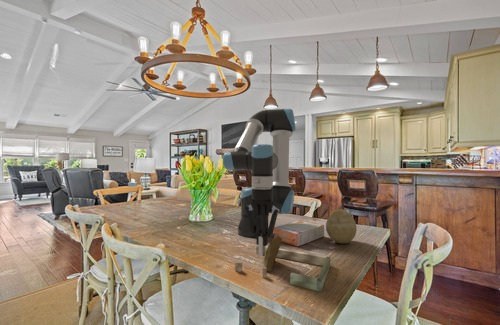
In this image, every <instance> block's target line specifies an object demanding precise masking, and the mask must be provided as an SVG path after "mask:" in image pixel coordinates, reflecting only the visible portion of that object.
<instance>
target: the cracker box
mask: <svg viewBox="0 0 500 325" xmlns="http://www.w3.org/2000/svg"><path fill="white" fill-rule="evenodd" d="M278 236H279V237H281V238H282V242H281V243H286V244H289V245H292V246H294V247H300V246H303V245H306V244H308V243H310V242H313V241H316V240H319V239H321V238H324V237H325V224H322V223H321V224H320V223H317V222H311V221H307V220H304V219H303V220H302V219H300V220H296V221H292V222H290V223H284V224H282V225H281V224H280V225H278V226H275V227H274V231H273V239H274V238H275V237H278Z"/></svg>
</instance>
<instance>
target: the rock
mask: <svg viewBox="0 0 500 325" xmlns="http://www.w3.org/2000/svg"><path fill="white" fill-rule="evenodd" d="M282 243H283V242H282V238H281V237H279V236H278V237H275V238H274V237H273V239H272V241H271V242H270V243H269V245H267V246H268V247H267V249H266V251H265V255H263V259H262V263H263V267H267V272H272V270H273V267H274V265H275V261H276V259H277V257H276V256H277V254H278V251H279V249H281V245H282Z"/></svg>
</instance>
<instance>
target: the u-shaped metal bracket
mask: <svg viewBox="0 0 500 325" xmlns="http://www.w3.org/2000/svg"><path fill="white" fill-rule="evenodd" d="M268 246H269V245H266V246H265V251H266V249H267V247H268ZM255 247H256V249H255V250H256V251H255V252H256V254H258V255H259V245H257V244H256V246H255ZM263 256H265V254H264V255H263ZM276 258H279V259H286V260H290V261H295V262H301V263H306V264H311V265H317V266H321V269H320V272H319V275H318V277H315V276H314V277H313V276H308V275H303V274H299V273H295V272H290V275H289V277H290V278H289V280H290V281H289V282H290V285H291V286H292V285H293V286H297V287H300V288H303V289H304V288H305V289H308V290H313V291H317V292H322V291H323V288H324V285H325V282H326V279H327V276H328V273H329V270H330V268H331V256H330V257H329V256H327V255H326V256H325V255H321V254H313V253H309V252H307V253H306V252H301V251H297V250H290V249H284V248H279V251H278V254H277V256H276ZM234 262H235V263H234V270H235V271H234V272H237V273H242V272H243V262H242V261H240V260H236V261H234ZM267 277H268V271H267V267H265V266H263V267H262V278H263V279H266V278H267Z"/></svg>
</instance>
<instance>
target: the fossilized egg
mask: <svg viewBox="0 0 500 325" xmlns="http://www.w3.org/2000/svg"><path fill="white" fill-rule="evenodd" d="M325 228H326V229H325V230H326V232H327V235H328V237H329V238H330V239H331V240H332V241H333V242H335V243H336V244H347V243H350V242H352V240H353V239H354V238H355V236H356V234H357V229H358V228H357V224H356V220H355V219H354V218H353V216H352V214H350V212H348V211H347V210H345V209H343V208H338V209H335V210H334V211H332V212H331V213H330V214H329V216H328V218H327V219H326V223H325Z"/></svg>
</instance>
